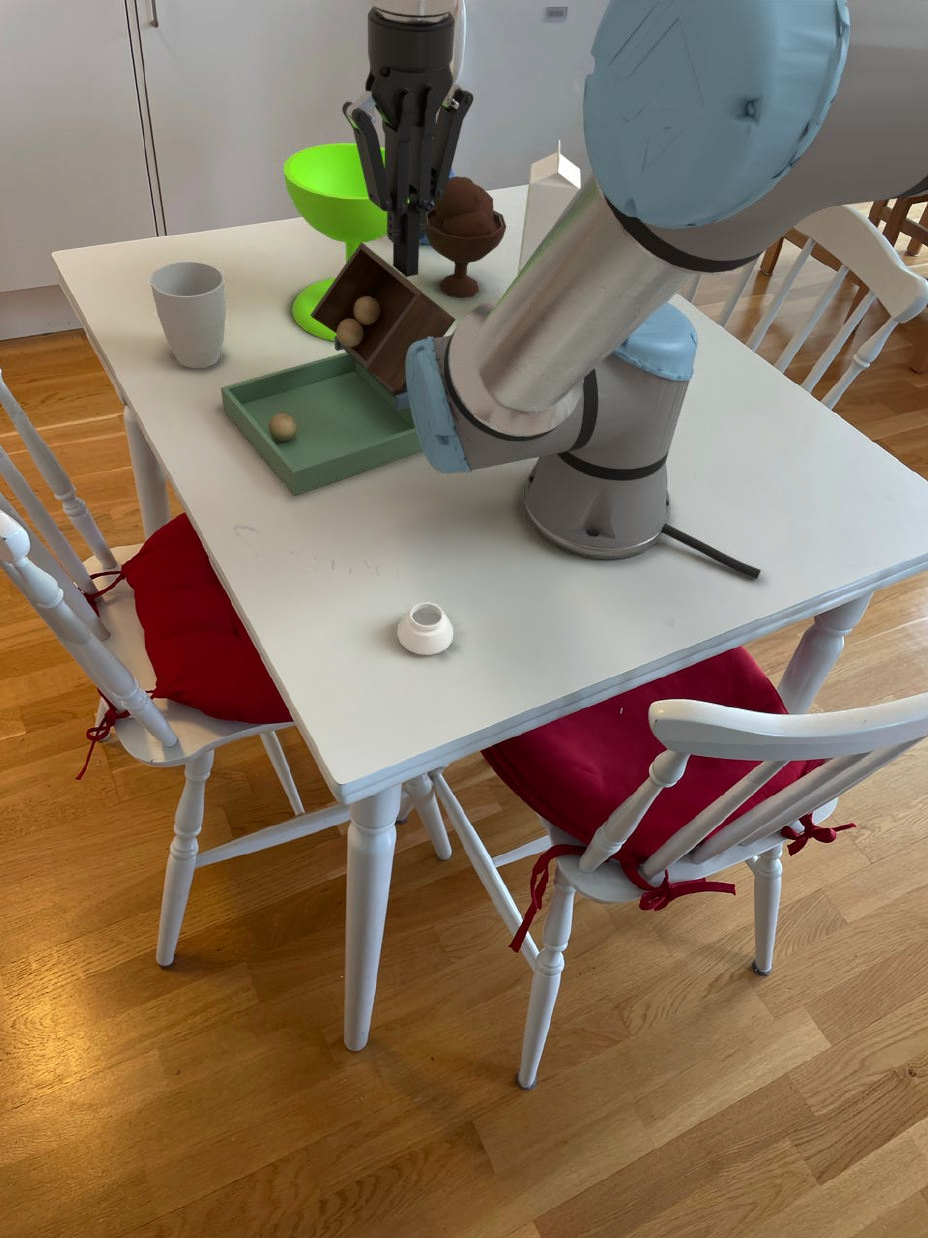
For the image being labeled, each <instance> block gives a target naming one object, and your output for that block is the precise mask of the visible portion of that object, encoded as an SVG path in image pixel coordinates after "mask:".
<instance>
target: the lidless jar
mask: <svg viewBox="0 0 928 1238" xmlns="http://www.w3.org/2000/svg"><path fill="white" fill-rule="evenodd" d="M396 633H397V634H396V636H397V638H398V640H399V643H400V644H401V645H402V646H403V647H404V648H405V649H406V650H407V651H410V652H412V653H414V654H417V655H423V656H424V655H426V656H430V655H435V654H439V653H442V652H443V651H445V650H446V649H448V648H449V646H451V644H452V642H453V640H454V627H453V625H452V622H451V621H450V620H449V618H448V616H447V614H446V613H445V612H444V610H443V609H442V608H441V607H440V606H439V605H438V604H435V603H433V602H429V601H426V602H425V601H424V602H419V603H417V604H415V605H413V607H412V608H411V609H410V610H409V611H408V612H407V613H406V614H405V616H403V618H402V619H401V621H399V623H398V626H397V632H396Z"/></svg>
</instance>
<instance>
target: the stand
mask: <svg viewBox="0 0 928 1238" xmlns="http://www.w3.org/2000/svg"><path fill="white" fill-rule="evenodd" d="M336 338H337V336H335V337H334V340H335V341H334V350H336V352H339V351H343V350H344V349H343V348H342V347H341V346H340V342H339V341H338V340H337V339H336ZM407 407H410V404H409V398H408V392H407V386H406V387H405V389H404V390H403V391H402V394H399V395H396V398H395V408H396V409H397V410H401V409H404V408H407Z"/></svg>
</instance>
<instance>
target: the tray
mask: <svg viewBox="0 0 928 1238" xmlns="http://www.w3.org/2000/svg"><path fill="white" fill-rule="evenodd" d="M220 393H221V399H222V408H223V411H224V412H225V413H226V415H227V416H228V417H229V419H230V420H231V421H232V422H233V423H234V425H235V426H236V427H237V428H238V429H239V430H240V432H241V433H242V434H243V435H244V436H245V438H246V439H247V440H248V441H249V442H250V444H251V445H252V446H253V447H254V448H255V449H256V451H257V452H258V454H260V456H261V457H262V458H263V459H264V461H266V463H267V464H268V465H269V466H270V468H271V469H272V470H273V471H274V472H275V474H276V475H277V476H278V477H279V478H280V479H281V481H282V482H283V484H285V485H286V487H287V488H288V489H289V491H290V492H291V493H292V494H293V495H294V496H298V495H300V494H303V493H305V492H308V491H312V490H315V489H317V488H321V487H323V486H326V485H329V484H332V483H334V482H338V481H340V480H343V479H347V478H349V477H352V476H354V475H357V474H360V473H361V474H362V473H363V472H366V471H369V470H373V469H375V468H378V467H380V466H383V465H386V464H389V463H392V462H395V461H398V460H401V459H403V458H407V457H410V456H412V455H416V454H419V453H421V452H423V450H422V448H421V445H420V442H419V439H418V436H417V433H416V429H415V426H414V422H413V418H412V414H411V409H410V407H407V408H404V409H401V410H397V409H396V408H395V398H393V397H392V396H391V395H390V394H389V393H388V392H387V391H386V390H385V389H384V388H383V387H382V386H381V385H380V384H379V383H378V382H377V381H376V380H375V379H374V378H373V377H372V376H371V375H370V374H369V373H368V372H367V371H366V370H365V369H364V368H362V367H361V366H360V365H359V364H358V363H357V362H356V361H355V360H354V359H353V358H352V357H351V356H350V355H349V354H348V353H347V352H346V351H344V352H341V353H338V354H335V355H331V356H328V357H324V358H320V359H316V360H314V361H310V362H307V363H303V364H299V365H296V366H292V367H288V368H286V369H282V370H278V371H274V372H271V373H268V374H264V375H260V376H257V377H254V378H253V377H252V378H250V379H247V380H243V381H239V382H236V383H232V384H228V385H225V386H222V387H220ZM401 394H402V393H401ZM280 413H285V414H288V415H290V416H291V417H292V418H293V419H294V420H295V422H296V424H297V432H296V434H295V436H294V437H293V438H292V439H291V440H289V441H285V442H282V441H278V440H276V439H274V438H273V437H272V435H271V434H270V431H269V422H270V420H271V419H272V417H274V416H275V415H277V414H280Z"/></svg>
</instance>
